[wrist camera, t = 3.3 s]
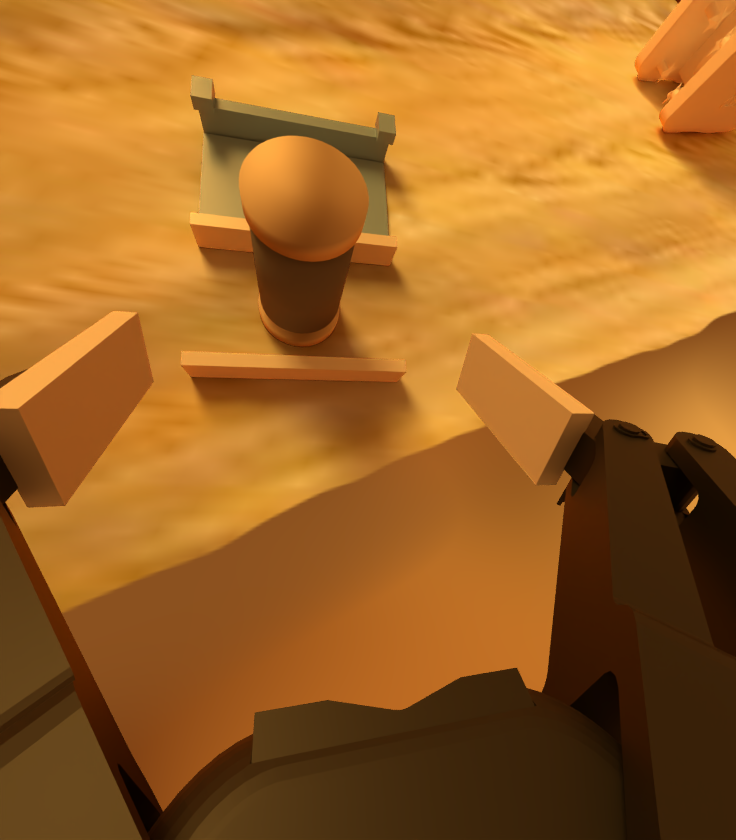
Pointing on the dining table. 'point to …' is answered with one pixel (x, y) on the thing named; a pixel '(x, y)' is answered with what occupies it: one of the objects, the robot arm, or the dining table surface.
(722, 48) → the cable organizer
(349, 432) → the dining table surface
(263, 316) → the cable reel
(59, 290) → the dining table surface
